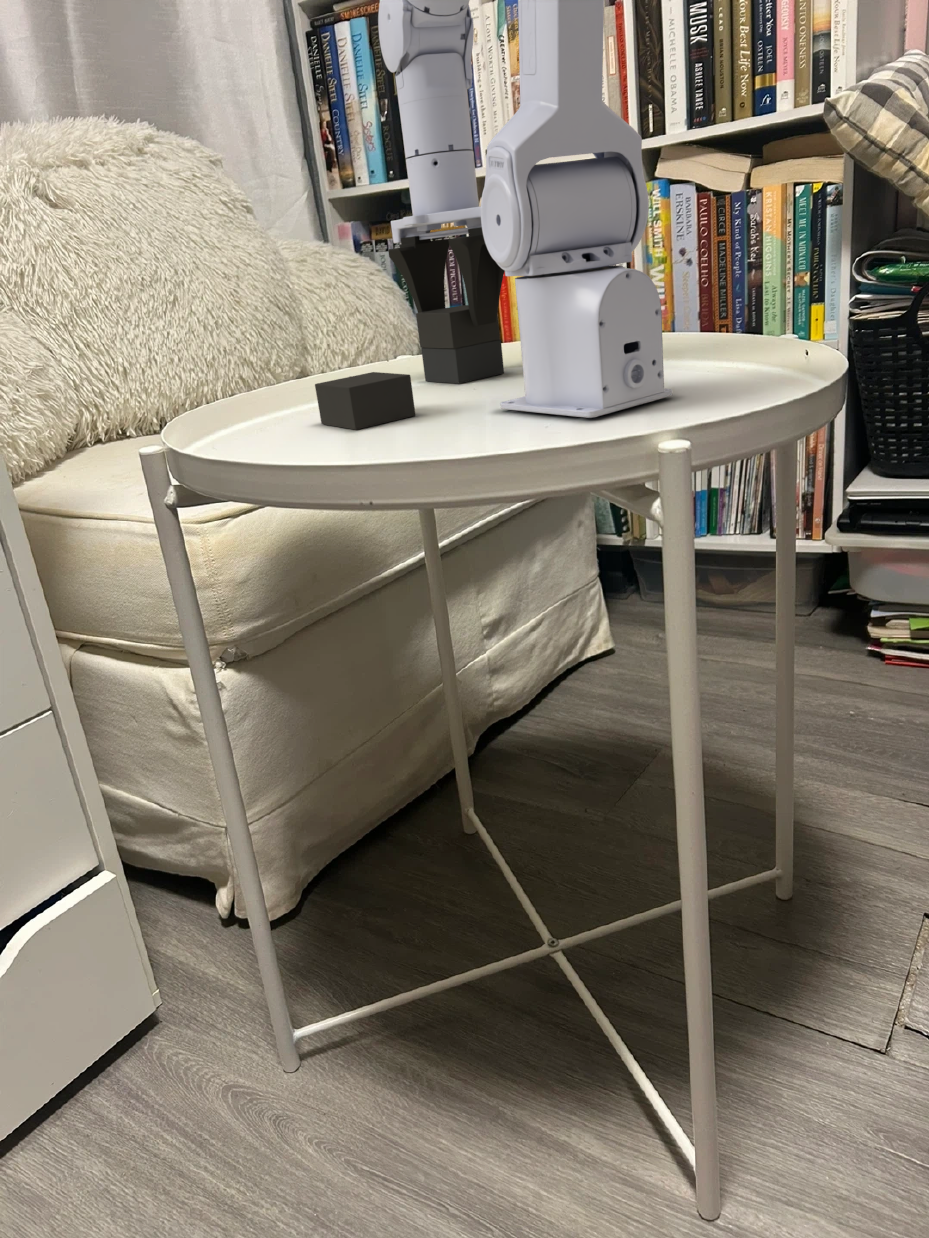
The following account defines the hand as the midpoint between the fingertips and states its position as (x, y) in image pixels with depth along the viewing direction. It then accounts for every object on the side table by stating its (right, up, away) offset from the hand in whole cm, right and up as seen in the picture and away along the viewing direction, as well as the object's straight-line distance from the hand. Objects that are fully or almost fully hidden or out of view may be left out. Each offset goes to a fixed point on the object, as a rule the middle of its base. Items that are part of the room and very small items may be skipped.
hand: (458, 324), depth 84 cm
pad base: (+1, -4, +2) cm, 5 cm away
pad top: (-7, -11, -13) cm, 19 cm away
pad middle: (0, -2, +1) cm, 2 cm away
